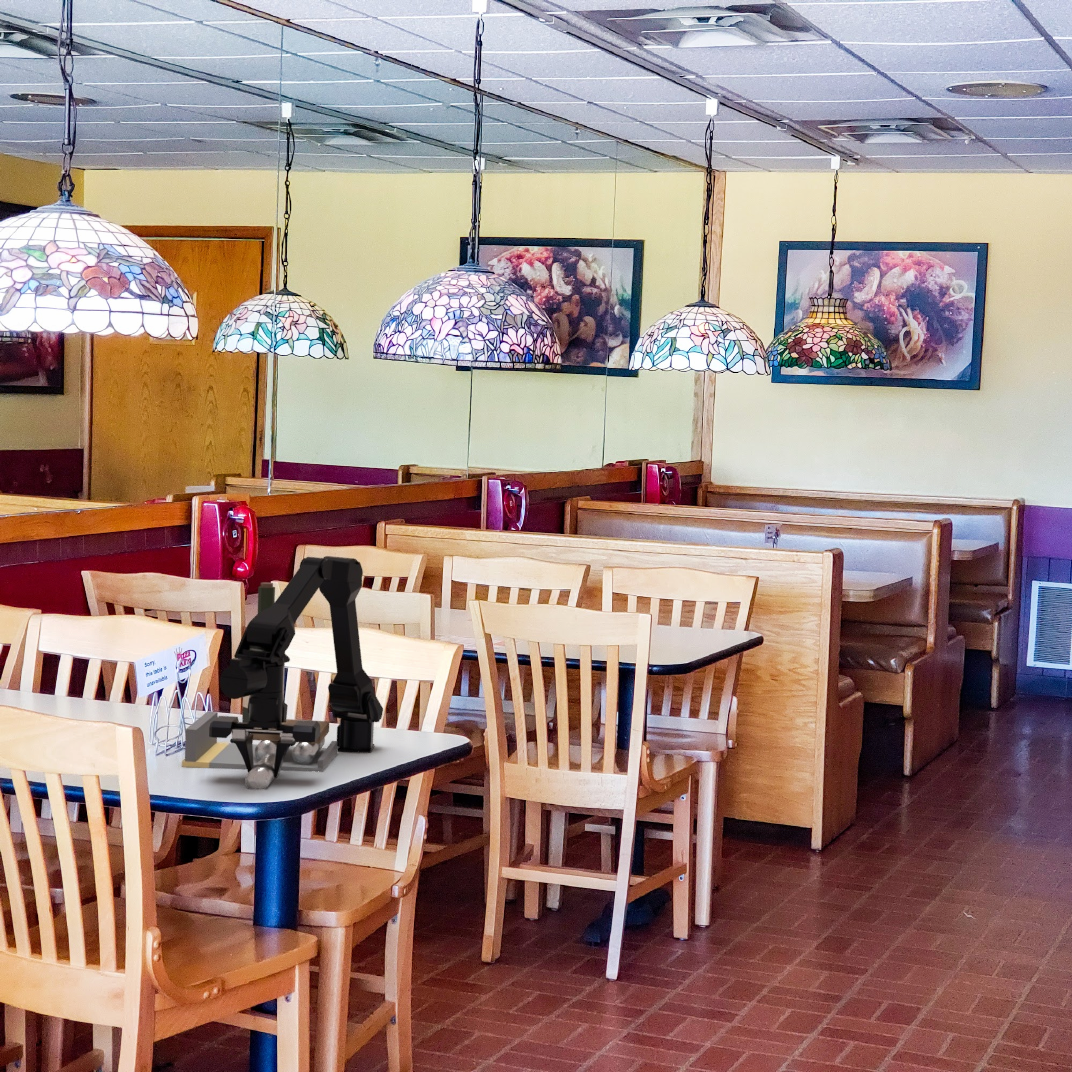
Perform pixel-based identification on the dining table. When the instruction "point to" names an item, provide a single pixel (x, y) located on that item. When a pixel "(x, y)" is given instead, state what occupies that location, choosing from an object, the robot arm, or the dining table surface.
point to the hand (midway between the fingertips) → (263, 776)
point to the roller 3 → (306, 752)
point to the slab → (269, 737)
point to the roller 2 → (261, 773)
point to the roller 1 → (265, 749)
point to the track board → (227, 755)
